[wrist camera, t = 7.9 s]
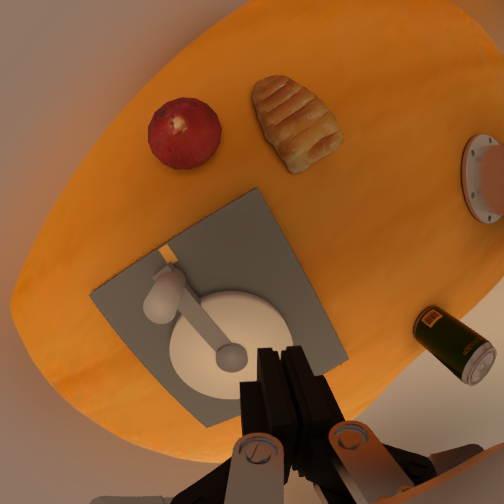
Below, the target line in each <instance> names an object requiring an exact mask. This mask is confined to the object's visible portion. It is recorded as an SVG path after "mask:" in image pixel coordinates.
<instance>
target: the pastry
mask: <svg viewBox="0 0 504 504" xmlns="http://www.w3.org/2000/svg"><path fill="white" fill-rule="evenodd" d="M252 101H253V103H254V105H255V109H256V112H257V118H258V120H259V122H260V124H261V126H262V129H263V131H264V136H265V138H266V139H267V141H268V142H270V143H271V144H272V145H273V146H274V148H275V149H276V151H277V153H278V155H279V156H280V157H281V159H282V160H283V161H284V162H285V163H286V166H287V168H288V170H289V171H290V172H292V173H300V172H302V171H304V170H305V169H307V168H309V166H310V165H312V164H313V163H315V162H317V161H318V160H319V159H321V158H323V157H325V156H327V155H329V154H330V153H332V152H333V151H334V150H336V149H337V148H338V147H339V146H340V145H341V144H342V143H343V140H344V137H343V134H342V133H341V132H340V130H339V126H338V124H337V121H336V118H335V116H334V115H333V113H332V112H331V111H330V110H329V109H328V108H327V107H326V106H325V104H324V103H323V102H322V101H321V100H320V99H319V98H318V97H317V96H316V95H315V94H314V93H312V92H310V91H309V90H308V89H306V88H305V87H302V86H300V85H299V84H297V83H296V82H294V81H293V80H291V79H290V78H288V77H285V76H276V75H275V76H271V77H268V78H265V79H263V80H260V81H258V82H257V83H256V84H255V87H254V91H253V94H252Z"/></svg>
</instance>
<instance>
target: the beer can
mask: <svg viewBox="0 0 504 504" xmlns="http://www.w3.org/2000/svg"><path fill="white" fill-rule="evenodd" d="M414 334H415V337H416V339H417V341H418V342H419V343H420V344H422V345H423V346H424V347H425V348H426V349H427V350H428V351H429V352H430V353H432V354H433V355H434V356H435V357H436V358H437V359H438V360H439V361H440V362H441V363H443V364H444V365H445V366H446V367H447V368H448V369H449V370H450V371H451V372H453V374H454V375H455V376H457V377H458V378H459V379H460V380H461V381H462V382H463V383H465V384H468V385H469V386H474V385H476V384H478V383H479V382H480V381H481V380H482V379H483V378H484V377H485V376H486V375H487V374H488V372H489V371H490V369H491V367H492V366H493V364H494V361H495V359H496V354H497V352H496V349H495V348H494V347H493V346H492V344H491V343H490V342H489V341H488V340H486V339H485V338H484V337H482V336H481V335H479V334H478V333H476V332H475V331H474V330H472V329H471V328H469V327H468V326H466V325H465V324H463V323H462V322H460V321H459V320H457V319H456V318H454V317H453V316H451V315H450V314H448V313H447V312H445V311H444V310H442V309H441V308H438V307H430V308H428V309H426V310H424V311H423V312H422V313H421V314H420V316H419V317H418V318H417V320H416V323H415V326H414Z"/></svg>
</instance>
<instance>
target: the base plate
mask: <svg viewBox="0 0 504 504" xmlns="http://www.w3.org/2000/svg"><path fill="white" fill-rule="evenodd" d="M169 262H171V263H172V265H173V266H174V267H175V268H177V269H179V270H180V271H182V273H183V274H184V275H185V278H186V283H187V284H188V285H189V287H190V288H191V289H192V290H193V292H194V293H195V294H196V295H197V297H198V298H201V297H203V296H206V295H208V294H211V293H215V292H221V291H242V292H247V293H251V294H254V295H257V296H259V297H261V298H263V299H265V300H266V301H268V302H269V303H271V304H272V305H273V306H274V307H275V308H276V309H277V310H278V311H279V312H280V314H281V315H282V317H283V318H284V320H285V322H286V325H287V327H288V329H289V331H290V334H291V337H292V341H293V346H298V345H301V346H302V348H303V351H304V353H305V355H306V358H307V360H308V362H309V365H310V367H311V369H312V372H313V374H314V376H319V375H323V374H324V373H326V372H328V371H330V370H331V369H333V368H335V367H336V366H338V365H340V364H341V363H343V362H345V361H346V360H348V359H349V358H348V356H347V354H346V352H345V350H344V348H343V346H342V344H341V342H340V340H339V338H338V336H337V334H336V332H335V330H334V328H333V326H332V324H331V322H330V320H329V318H328V316H327V314H326V312H325V310H324V308H323V307H322V305H321V303H320V301H319V299H318V297H317V295H316V293H315V291H314V289H313V287H312V285H311V284H310V282H309V280H308V278H307V276H306V274H305V272H304V270H303V269H302V267H301V265H300V263H299V261H298V259H297V257H296V256H295V254H294V252H293V250H292V248H291V246H290V245H289V243H288V241H287V239H286V237H285V236H284V234H283V232H282V230H281V228H280V226H279V225H278V223H277V221H276V219H275V218H274V216H273V214H272V212H271V210H270V209H269V207H268V205H267V203H266V202H265V200H264V198H263V196H262V195H261V193H260V191H259V189H258V188H255V189H253V190H251V191H249V192H248V193H246V194H244V195H242V196H241V197H239V198H237V199H236V200H234V201H232V202H230V203H229V204H227V205H225V206H224V207H222V208H220V209H219V210H217V211H215V212H214V213H212V214H210V215H209V216H207V217H205V218H204V219H202V220H201V221H199V222H197V223H196V224H194V225H192V226H191V227H189V228H188V229H186V230H184V231H183V232H181V233H180V234H178V235H177V236H175V237H173V238H172V239H170V240H169V241H167V242H166V243H164V244H162V245H161V246H159V247H158V248H156V249H155V250H153V251H152V252H150V253H149V254H147V255H146V256H144V257H143V258H141V259H140V260H138V261H137V262H135V263H134V264H132V265H131V266H129V267H128V268H126V269H125V270H123V271H122V272H120V273H119V274H117V275H116V276H115V277H113V278H112V279H110V280H109V281H107V282H106V283H104V284H103V285H102V286H100V287H99V288H97V289H96V290H95V291H93V292H92V293H91V294H90V295H89V296H90V298H91V299H92V301H93V302H94V303H95V305H96V306H97V308H98V309H99V310H100V312H101V313H102V314H103V316H104V317H105V318H106V320H107V321H108V322H109V324H110V325H111V326H112V328H113V329H114V330H115V331H116V333H117V334H118V335H119V337H120V338H121V339H122V340H123V341H124V343H125V344H126V345H127V346H128V348H129V349H130V350H131V351H132V352H133V353H134V355H135V356H136V357H137V358H138V359H139V360H140V362H141V363H142V364H143V365H144V366H145V367H146V368H147V369H148V371H149V372H150V373H151V374H152V375H153V376H154V377H155V378H156V379H157V380H158V381H159V382H160V383H161V385H162V386H163V387H164V388H165V389H166V390H167V391H168V392H169V393H170V394H171V395H172V396H173V397H174V398H175V399H176V400H177V401H178V402H179V403H180V404H181V405H182V406H183V407H184V408H185V409H187V410H188V411H189V412H190V413H191V414H192V415H193V416H194V417H195V418H196V419H197V420H198V421H200V422H201V423H202V424H203V425H204V426H205V427H206V428H208V427H211V426H213V425H216V424H219V423H221V422H224V421H226V420H229V419H231V418H234V417H236V416H239V415H241V409H240V399H219V398H214V397H210V396H207V395H204V394H202V393H200V392H198V391H196V390H194V389H193V388H191V387H190V386H188V385H187V384H186V383H185V382H184V381H183V380H182V379H181V378H180V377H179V375H178V374H177V373H176V371H175V369H174V367H173V365H172V362H171V359H170V352H169V346H170V340H171V336H172V333H173V329H174V326H175V323H176V321H177V319H178V317H179V316H180V315H181V312H180V311H179V310H178V309H177V311H176V314H175V317H174V318H173V320H172V321H170V322H169V323H166V324H157V323H154V322H152V321H151V320H149V319H148V318H147V316H146V315H145V313H144V310H143V303H144V300H145V299H146V297H147V295H148V294H149V292H150V291H151V289H152V287H153V286H154V284H155V283H156V282H155V280H154V279H153V278H152V276H153V275H154V273H155V272H157V271H158V270H159V269H161V268H162V267H163V266H165V265H166V264H168V263H169Z"/></svg>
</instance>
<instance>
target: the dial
mask: <svg viewBox="0 0 504 504" xmlns="http://www.w3.org/2000/svg"><path fill="white" fill-rule="evenodd" d="M152 278H153V279H154V280H155V282H156V283H155V284H154V286H153V287H152V289H151V291H150V292H149V294H148V295H147V297H146V299H145V300H144V303H143V310H144V313H145V315H146V316H147V318H148V319H149V320H151V321H152V322H154V323H157V324H166V323H169V322H170V321H172V320H173V318H174V317H175V314H176V311H177V309H178V310H179V311H180V312H181V315H180V316H179V317H178V319H177V321H176V323H175V326H174V329H173V333H172V336H171V340H170V346H169V352H170V359H171V362H172V365H173V367H174V369H175V371H176V373H177V374H178V375H179V377H180V378H181V379H182V380H183V381H184V382H185V383H186V384H187V385H188V386H190V387H191V388H193V389H194V390H196V391H198V392H200V393H202V394H204V395H207V396H210V397H214V398H219V399H240V385H239V382H246V381H257V348H269V347H272V349H273V351H278V354H279V357H280V358H281V351H282V350H286V347H287V346H293V341H292V337H291V334H290V331H289V329H288V327H287V325H286V322H285V320H284V318H283V317H282V315H281V314H280V312H279V311H278V310H277V309H276V308H275V307H274V306H273V305H272V304H271V303H269V302H268V301H266V300H265V299H263V298H261V297H259V296H257V295H254V294H251V293H247V292H242V291H221V292H215V293H211V294H208V295H206V296H203V297H201V298H198V297H197V295H196V294H195V293H194V292H193V290H192V289H191V288H190V287H189V285H188V284H187V283H186V278H185V275H184V274H183V273H182V271H180V270H179V269H177V268H175V267H174V266H173V265H172V263H171V262H169V263H168V264H166V265H165V266H163V267H162V268H161V269H159V270H158V271H157V272H155V273H154V275H153V276H152Z"/></svg>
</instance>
